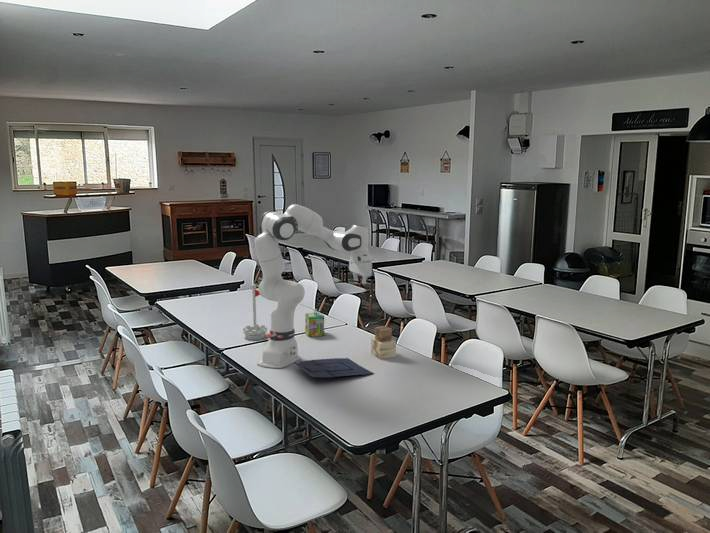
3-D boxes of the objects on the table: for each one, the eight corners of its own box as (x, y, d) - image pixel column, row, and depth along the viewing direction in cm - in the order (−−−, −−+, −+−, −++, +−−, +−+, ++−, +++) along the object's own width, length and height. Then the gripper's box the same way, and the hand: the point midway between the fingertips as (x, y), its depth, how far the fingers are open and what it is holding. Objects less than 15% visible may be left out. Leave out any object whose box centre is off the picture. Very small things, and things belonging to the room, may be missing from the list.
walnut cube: (391, 340, 262) (391, 329, 261) (381, 342, 259) (381, 330, 258) (385, 337, 267) (385, 325, 266) (375, 339, 264) (375, 327, 263)
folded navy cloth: (291, 367, 244) (291, 359, 244) (347, 363, 260) (347, 356, 259) (314, 385, 223) (315, 376, 223) (373, 379, 239) (374, 371, 239)
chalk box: (305, 333, 301) (304, 307, 299) (320, 331, 304) (320, 306, 302) (308, 337, 293) (308, 311, 290) (324, 336, 295) (324, 310, 293)
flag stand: (239, 338, 291) (236, 285, 286) (250, 332, 303) (248, 280, 298) (260, 341, 287) (258, 286, 282) (271, 334, 299) (269, 282, 294)
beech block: (395, 356, 262) (395, 341, 261) (379, 359, 258) (380, 343, 257) (386, 351, 270) (386, 336, 269) (371, 353, 266) (371, 338, 265)
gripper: (346, 253, 282) (346, 279, 284) (363, 259, 263) (362, 286, 266) (356, 253, 284) (356, 278, 286) (374, 258, 266) (374, 285, 268)
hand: (359, 282), depth 276 cm, fingers open, 8 cm apart
